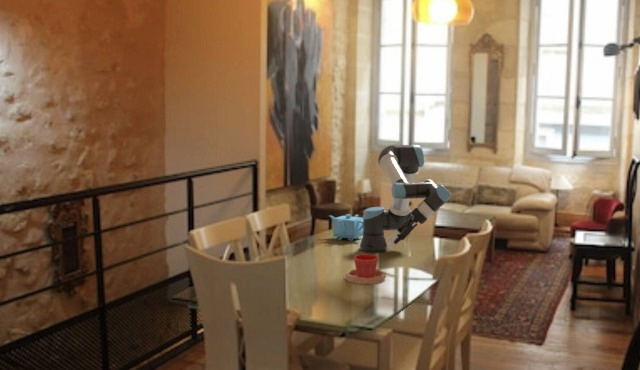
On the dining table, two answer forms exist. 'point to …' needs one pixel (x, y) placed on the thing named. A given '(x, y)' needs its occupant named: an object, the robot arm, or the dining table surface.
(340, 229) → the teakettle
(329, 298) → the dining table surface
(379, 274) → the terracotta saucer
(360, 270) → the flower pot
